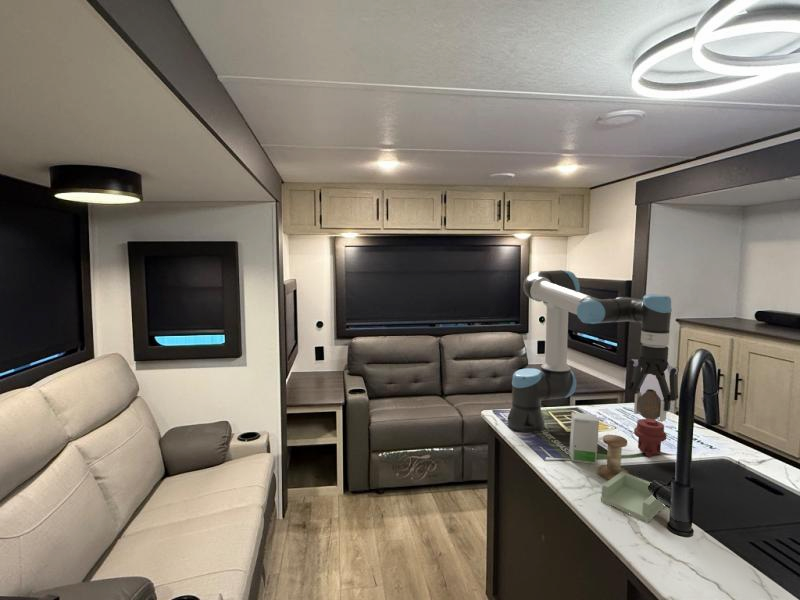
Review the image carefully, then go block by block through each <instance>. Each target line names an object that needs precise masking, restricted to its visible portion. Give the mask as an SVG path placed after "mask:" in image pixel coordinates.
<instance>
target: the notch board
mask: <svg viewBox="0 0 800 600" xmlns="http://www.w3.org/2000/svg"><path fill="white" fill-rule="evenodd" d="M628 473H629V472H628ZM628 473H625V472H620V473H619V474H617V475H616V476H615V477H613V478H612V479H610V480H606V482H605V483H603V484H602V486H601V487H602V488H601V496H600V499H599V500H601V501H600V502H602V501H603V502H602V503H604V502H605V503H604V504H606V503H607V504H606V505H608V504H610V505H609V506H611V505H612V506H611V507H613V506H614V507H613V508H615V507H616V508H615V509H617V508H619V509H620V510H619V509H618V510H619V511H621V512H624V511H625V512H624V513H626V512H627V513H626V514H628V513H630V514H631V516H633V517H635V518H637V519H639V518H640V519H639V520H641V519H642V521H644V522H646V521H647V522H646V523H650V521H652V519H654V518H655V517H656V516H657V515H658V514H659V513H660V512H661V511H662V510H663V509H664V508H665V507H664V505H663V504H662V503H661V502H660V501H659V500H657V499H656V498H655V497H654V496H653V495H651V494H650V492H649V490H648V486H649V485H650V483H652V482H651V481H648V480H646V479H644V478H641V477H638V476H635V475H634V474H633V475H632V474H631V473H629V474H628ZM661 509H662V510H661ZM660 510H661V511H660ZM659 511H660V512H659ZM658 512H659V513H658ZM657 513H658V514H657ZM630 514H629V515H630ZM656 514H657V515H656ZM655 515H656V516H655ZM654 516H655V517H654ZM653 517H654V518H653Z"/></svg>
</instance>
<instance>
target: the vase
mask: <svg viewBox="0 0 800 600" xmlns="http://www.w3.org/2000/svg"><path fill="white" fill-rule="evenodd" d="M661 400H662V399H661V397H660V396H659V395H658V393H657V391H656V390H655V389H651V388H650V389H649V388H648V389H646V391H645V392H643V394H641V397H640V398H639V401H638V411H639V413H638V414H640V416H641V417H642V418H643V419H651V420H657V419H660V407H661Z"/></svg>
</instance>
